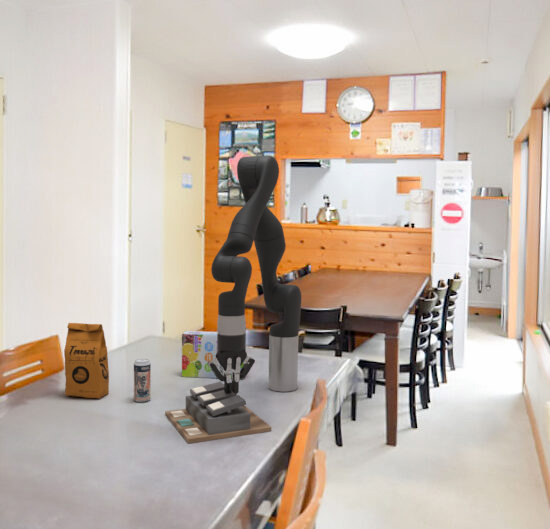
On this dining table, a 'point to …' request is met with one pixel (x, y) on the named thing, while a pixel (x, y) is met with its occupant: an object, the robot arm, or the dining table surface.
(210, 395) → the block
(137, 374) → the beer can
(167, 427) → the dining table surface
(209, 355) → the snack box
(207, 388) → the rocker
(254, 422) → the switch panel
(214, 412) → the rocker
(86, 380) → the coffee package
